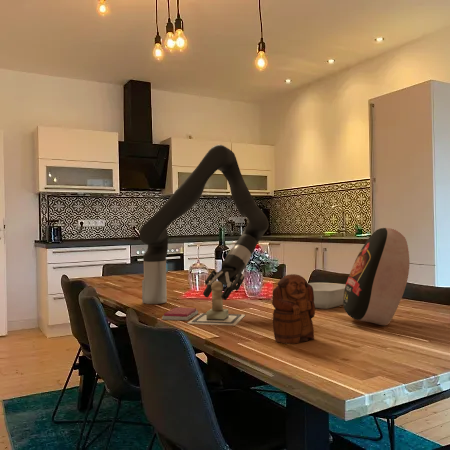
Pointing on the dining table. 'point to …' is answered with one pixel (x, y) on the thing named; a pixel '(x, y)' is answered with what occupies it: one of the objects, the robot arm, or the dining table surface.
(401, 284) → the packaged food
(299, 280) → the wooden figurine
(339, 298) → the square bowl
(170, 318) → the ink pad
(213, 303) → the stamp
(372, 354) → the dining table surface
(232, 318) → the print sheet
